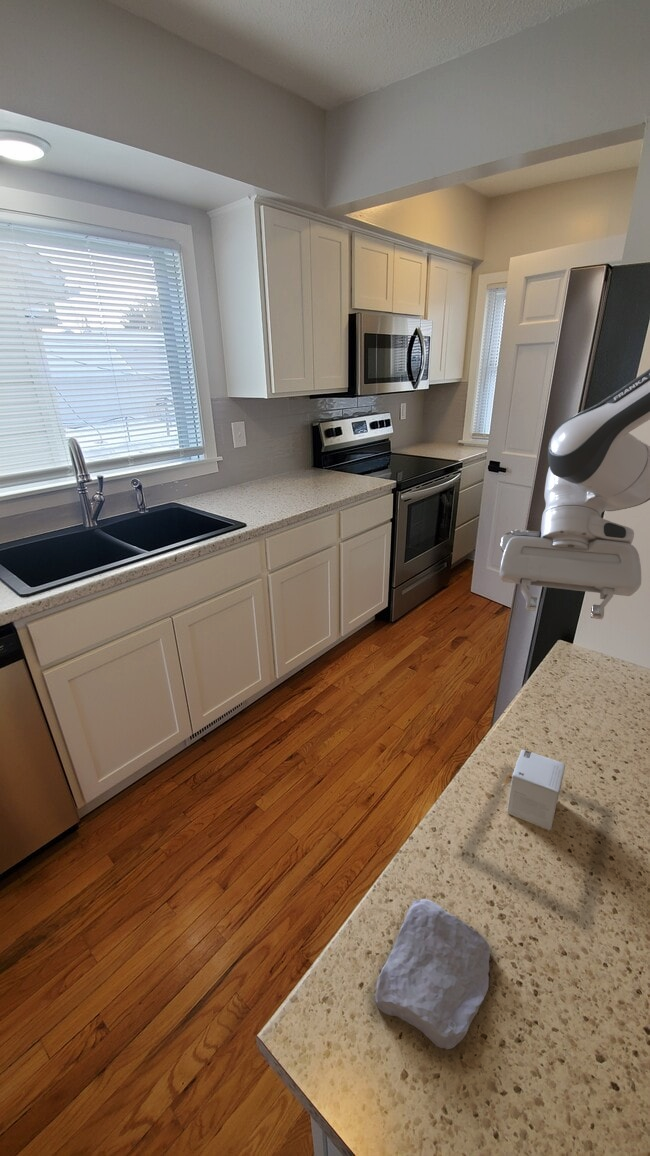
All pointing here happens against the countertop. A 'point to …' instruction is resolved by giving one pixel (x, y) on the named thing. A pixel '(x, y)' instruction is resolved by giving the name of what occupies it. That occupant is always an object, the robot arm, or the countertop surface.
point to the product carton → (535, 789)
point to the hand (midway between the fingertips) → (563, 613)
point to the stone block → (435, 974)
